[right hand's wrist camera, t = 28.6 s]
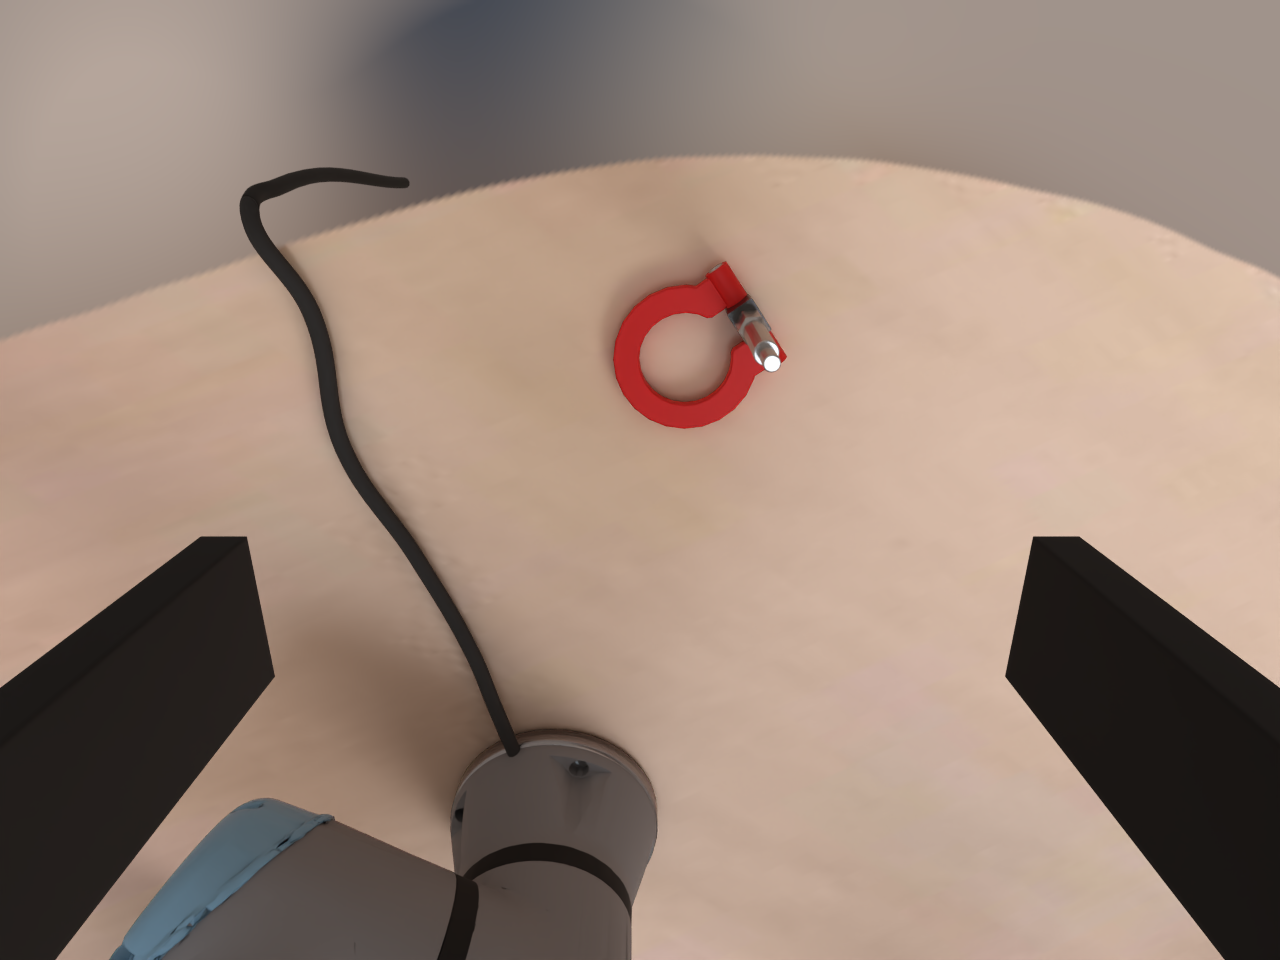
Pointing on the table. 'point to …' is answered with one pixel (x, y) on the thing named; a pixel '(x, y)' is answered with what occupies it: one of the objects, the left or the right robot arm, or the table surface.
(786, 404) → the table surface
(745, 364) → the tow hook
